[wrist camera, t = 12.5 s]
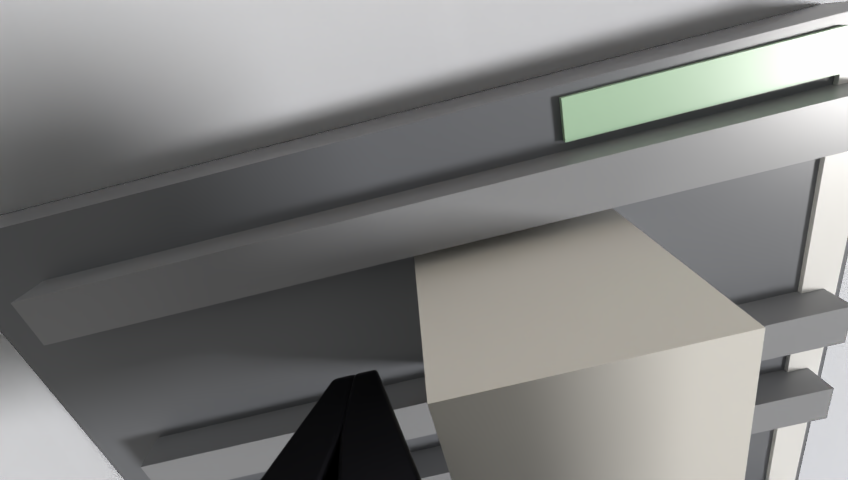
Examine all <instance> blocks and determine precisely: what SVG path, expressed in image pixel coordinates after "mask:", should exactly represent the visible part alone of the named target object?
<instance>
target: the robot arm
mask: <svg viewBox="0 0 848 480" xmlns="http://www.w3.org/2000/svg"><path fill="white" fill-rule="evenodd" d="M261 480H421V477H420V475H419V472H418V470H417V467H416V465H415V462H414V460H413V457H412V455H411V452H410V450H409V447H408V445H407V442H406V440H405V437H404V435H403V432H402V430H401V428H400V425H399V423H398V420H397V418H396V415H395V413H394V410H393V408H392V405H391V403H390V400H389V398H388V395H387V393H386V390H385V388H384V385H383V383H382V380H381V378H380V375H379V373H378V371H377V370H371V371H366V372H362V373H358V374H356V375H349V376H345V377H340V378H337V379H334V380H333V381H332V382H331V383H330V385H329V386H328V387H327V389H326V390H325V391H324V393H323V394H322V396H321V397H320V398H319V400H318V401H317V403H316V404H315V405H314V407H313V408H312V409H311V411H310V412H309V414H308V415H307V416H306V418H305V419H304V420H303V422H302V423H301V425H300V426H299V427H298V429H297V430H296V431H295V433H294V434H293V436H292V437H291V438H290V440H289V441H288V442H287V444H286V445H285V447H284V448H283V449H282V451H281V452H280V453H279V455H278V456H277V458H276V459H275V460H274V462H273V463H272V464H271V466H270V467H269V469H268V470H267V471H266V473H265V474H264V476H263V477H262V478H261Z"/></svg>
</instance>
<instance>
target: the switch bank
mask: <svg viewBox="0 0 848 480" xmlns="http://www.w3.org/2000/svg"><path fill="white" fill-rule="evenodd" d="M611 208H613V209H614V210H615V211H616V212H618V213H619V214H620V215H622V216H623V217H624V218H625V219H627V220H628V221H629V222H630V223H632V224H633V225H634V226H636V227H637V228H638V229H639V230H641V231H642V232H643V233H645V234H646V235H647V236H648V237H650V238H651V239H652V240H654V241H655V242H656V243H657V244H659V245H660V246H661V247H663V248H664V249H665V250H666V251H668V252H669V253H670V254H672V255H673V256H674V257H675V258H677V259H678V260H679V261H681V262H682V263H683V264H684V265H686V266H687V267H688V268H690V269H691V270H692V271H693V272H695V273H696V274H697V275H699V276H700V277H701V278H702V279H704V280H705V281H706V282H708V283H709V284H710V285H711V286H713V287H714V288H715V289H717V290H718V291H719V292H720V293H722V294H723V295H724V296H726V297H727V298H728V299H729V300H731V301H732V302H733V303H735V304H736V305H737V306H738V307H740V308H741V309H742V310H744V311H745V312H746V313H747V314H749V315H750V316H751V317H753V318H754V319H755V320H756V321H758V322H759V323H760V324H761V325H763V326H764V327H765V335H764V343H763V350H762V357H761V364H760V372H759V379H758V386H757V393H756V401H755V408H754V415H753V422H752V430H751V437H750V444H749V451H748V459H747V466H746V473H745V480H798V477H799V473H800V468H801V464H802V459H803V455H804V450H805V446H806V441H807V437H808V432H809V428H810V423H811V421H815V420H820V419H824V418H827V414H828V410H829V406H830V401H831V397H832V393H833V389H834V388H833V387H831V386H830V385H829V384H828V383H826V382H825V381H824V380H822V379H821V373H822V369H823V364H824V360H825V355H826V351H827V346H831V345H836V344H840V343H845V340H846V335H847V331H848V302H846V301H844V300H843V299H841V298H839V292H840V288H841V283H842V278H843V274H844V269H845V265H846V260H847V256H848V2H835V3H824V4H820V5H816V6H813V7H809V8H805V9H801V10H797V11H793V12H789V13H785V14H781V15H778V16H774V17H770V18H766V19H762V20H758V21H754V22H750V23H746V24H743V25H739V26H735V27H731V28H727V29H723V30H719V31H715V32H711V33H708V34H704V35H700V36H696V37H692V38H688V39H684V40H680V41H676V42H673V43H669V44H665V45H661V46H657V47H653V48H649V49H645V50H641V51H638V52H634V53H630V54H626V55H622V56H618V57H614V58H610V59H606V60H603V61H599V62H595V63H591V64H587V65H583V66H579V67H575V68H571V69H568V70H564V71H560V72H556V73H552V74H548V75H544V76H540V77H536V78H533V79H529V80H525V81H521V82H517V83H513V84H509V85H505V86H501V87H498V88H494V89H490V90H486V91H482V92H478V93H474V94H470V95H466V96H463V97H459V98H455V99H451V100H447V101H443V102H439V103H435V104H431V105H428V106H424V107H420V108H416V109H412V110H408V111H404V112H400V113H396V114H393V115H389V116H385V117H381V118H377V119H373V120H369V121H365V122H361V123H358V124H354V125H350V126H346V127H342V128H338V129H334V130H330V131H326V132H323V133H319V134H315V135H311V136H307V137H303V138H299V139H295V140H291V141H288V142H284V143H280V144H276V145H272V146H268V147H264V148H260V149H256V150H253V151H249V152H245V153H241V154H237V155H233V156H229V157H225V158H221V159H218V160H214V161H210V162H206V163H202V164H198V165H194V166H190V167H186V168H183V169H179V170H175V171H171V172H167V173H163V174H159V175H155V176H151V177H147V178H144V179H140V180H136V181H132V182H128V183H124V184H120V185H116V186H112V187H109V188H105V189H101V190H97V191H93V192H89V193H85V194H81V195H77V196H74V197H70V198H66V199H62V200H58V201H54V202H50V203H46V204H42V205H39V206H35V207H31V208H27V209H23V210H19V211H15V212H11V213H7V214H4V215H0V331H1V332H2V333H3V334H4V336H5V337H6V338H7V339H8V340H9V342H10V343H11V344H12V345H13V346H14V348H15V349H16V350H17V351H18V352H19V354H20V355H21V356H22V357H23V358H24V360H25V361H26V362H27V363H28V364H29V366H30V367H31V368H32V369H33V370H34V372H35V373H36V374H37V375H38V376H39V378H40V379H41V380H42V381H43V382H44V384H45V385H46V386H47V387H48V388H49V390H50V391H51V392H52V393H53V394H54V396H55V397H56V398H57V399H58V400H59V402H60V403H61V404H62V405H63V406H64V408H65V409H66V410H67V411H68V412H69V414H70V415H71V416H72V417H73V418H74V420H75V421H76V422H77V423H78V424H79V426H80V427H81V428H82V429H83V430H84V432H85V433H86V434H87V435H88V436H89V438H90V439H91V440H92V441H93V442H94V444H95V445H96V446H97V447H98V448H99V450H100V451H101V452H102V453H103V454H104V456H105V457H106V458H107V459H108V460H109V462H110V463H111V464H112V465H113V466H114V468H115V469H116V470H117V471H118V472H119V474H120V475H121V476H122V477H123V478H124V480H261V478H262V477H263V476H264V474H265V473H266V471H267V470H268V469H269V467H270V466H271V464H272V463H273V462H274V460H275V459H276V458H277V456H278V455H279V453H280V452H281V451H282V449H283V448H284V447H285V445H286V444H287V442H288V441H289V440H290V438H291V437H292V436H293V434H294V433H295V431H296V430H297V429H298V427H299V426H300V425H301V423H302V422H303V420H304V419H305V418H306V416H307V415H308V414H309V412H310V411H311V409H312V408H313V407H314V405H315V404H316V403H317V401H318V400H319V398H320V397H321V396H322V394H323V393H324V391H325V390H326V389H327V387H328V386H329V385H330V383H331V382H332V381H333V380H334V379H337V378H340V377H345V376H349V375H356V374H358V373H362V372H366V371H371V370H377V371H378V373H379V375H380V378H381V380H382V383H383V385H384V388H385V390H386V393H387V395H388V398H389V400H390V403H391V405H392V408H393V410H394V413H395V415H396V418H397V420H398V423H399V425H400V428H401V430H402V432H403V435H404V437H405V440H406V442H407V445H408V447H409V450H410V452H411V455H412V457H413V460H414V462H415V465H416V467H417V470H418V472H419V475H420V477H421V480H452V479H451V476H450V473H449V470H448V467H447V463H446V460H445V457H444V454H443V451H442V448H441V445H440V442H439V439H438V435H437V432H436V429H435V426H434V423H433V420H432V417H431V414H430V411H429V407H428V404H427V394H426V383H425V372H424V361H423V350H422V339H421V328H420V317H419V306H418V295H417V284H416V273H415V262H414V256H417V255H421V254H425V253H429V252H433V251H437V250H442V249H446V248H450V247H454V246H458V245H462V244H466V243H470V242H475V241H479V240H483V239H487V238H491V237H495V236H499V235H504V234H508V233H512V232H516V231H520V230H524V229H528V228H533V227H537V226H541V225H545V224H549V223H553V222H557V221H561V220H566V219H570V218H574V217H578V216H582V215H586V214H590V213H595V212H599V211H603V210H607V209H611Z"/></svg>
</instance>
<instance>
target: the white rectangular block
mask: <svg viewBox="0 0 848 480" xmlns="http://www.w3.org/2000/svg"><path fill="white" fill-rule="evenodd" d="M414 262H415V273H416V284H417V295H418V306H419V317H420V328H421V339H422V350H423V361H424V372H425V383H426V394H427V404H428V407H429V411H430V414H431V417H432V420H433V423H434V426H435V429H436V432H437V435H438V439H439V442H440V445H441V448H442V451H443V454H444V457H445V460H446V463H447V467H448V470H449V473H450V476H451V479H452V480H745V473H746V466H747V459H748V451H749V444H750V437H751V430H752V422H753V415H754V408H755V401H756V393H757V386H758V379H759V372H760V364H761V357H762V350H763V343H764V335H765V327H764V326H763V325H761V324H760V323H759V322H758V321H756V320H755V319H754V318H753V317H751V316H750V315H749V314H747V313H746V312H745V311H744V310H742V309H741V308H740V307H738V306H737V305H736V304H735V303H733V302H732V301H731V300H729V299H728V298H727V297H726V296H724V295H723V294H722V293H720V292H719V291H718V290H717V289H715V288H714V287H713V286H711V285H710V284H709V283H708V282H706V281H705V280H704V279H702V278H701V277H700V276H699V275H697V274H696V273H695V272H693V271H692V270H691V269H690V268H688V267H687V266H686V265H684V264H683V263H682V262H681V261H679V260H678V259H677V258H675V257H674V256H673V255H672V254H670V253H669V252H668V251H666V250H665V249H664V248H663V247H661V246H660V245H659V244H657V243H656V242H655V241H654V240H652V239H651V238H650V237H648V236H647V235H646V234H645V233H643V232H642V231H641V230H639V229H638V228H637V227H636V226H634V225H633V224H632V223H630V222H629V221H628V220H627V219H625V218H624V217H623V216H622V215H620V214H619V213H618V212H616V211H615V210H614V209H613V208H611V209H607V210H603V211H599V212H595V213H590V214H586V215H582V216H578V217H574V218H570V219H566V220H561V221H557V222H553V223H549V224H545V225H541V226H537V227H533V228H528V229H524V230H520V231H516V232H512V233H508V234H504V235H499V236H495V237H491V238H487V239H483V240H479V241H475V242H470V243H466V244H462V245H458V246H454V247H450V248H446V249H442V250H437V251H433V252H429V253H425V254H421V255H417V256H414Z"/></svg>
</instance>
